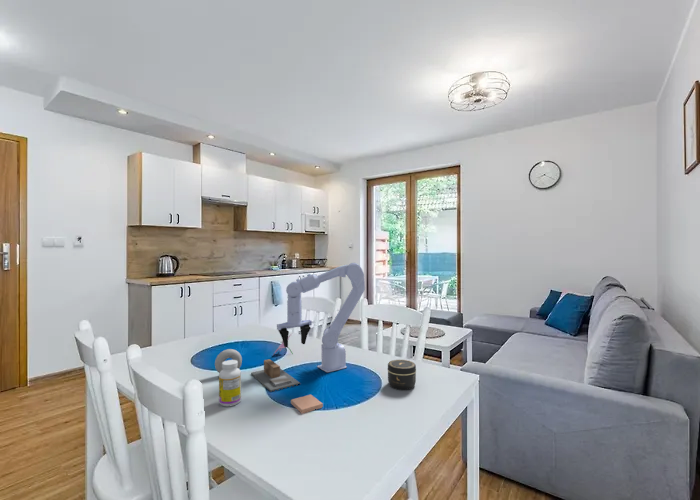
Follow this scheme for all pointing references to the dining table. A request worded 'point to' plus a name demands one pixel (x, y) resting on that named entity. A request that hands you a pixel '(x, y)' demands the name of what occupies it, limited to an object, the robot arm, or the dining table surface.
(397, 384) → the jar
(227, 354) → the donut
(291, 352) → the lily
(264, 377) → the mat
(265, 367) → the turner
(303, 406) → the tile
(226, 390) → the supplement bottle
